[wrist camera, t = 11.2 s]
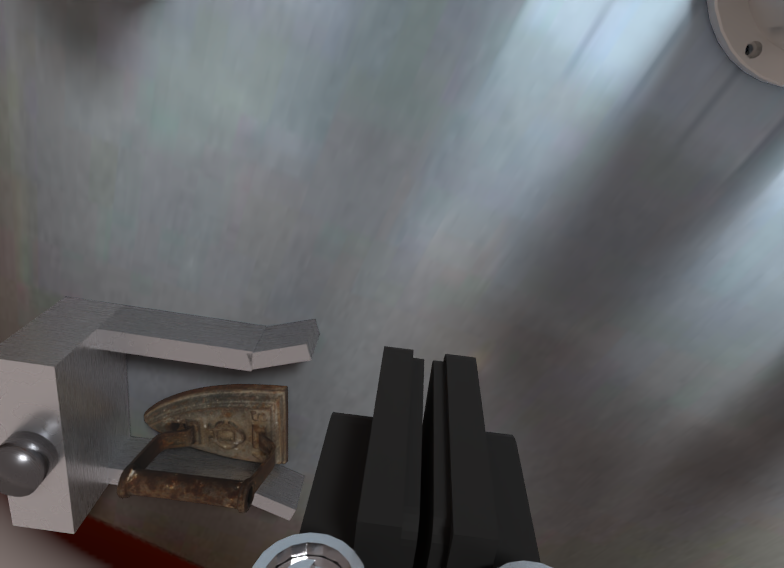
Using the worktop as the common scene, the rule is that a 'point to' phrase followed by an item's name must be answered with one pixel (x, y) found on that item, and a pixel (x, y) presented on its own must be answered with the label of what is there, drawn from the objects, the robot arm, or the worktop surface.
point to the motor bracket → (117, 404)
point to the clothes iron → (213, 442)
